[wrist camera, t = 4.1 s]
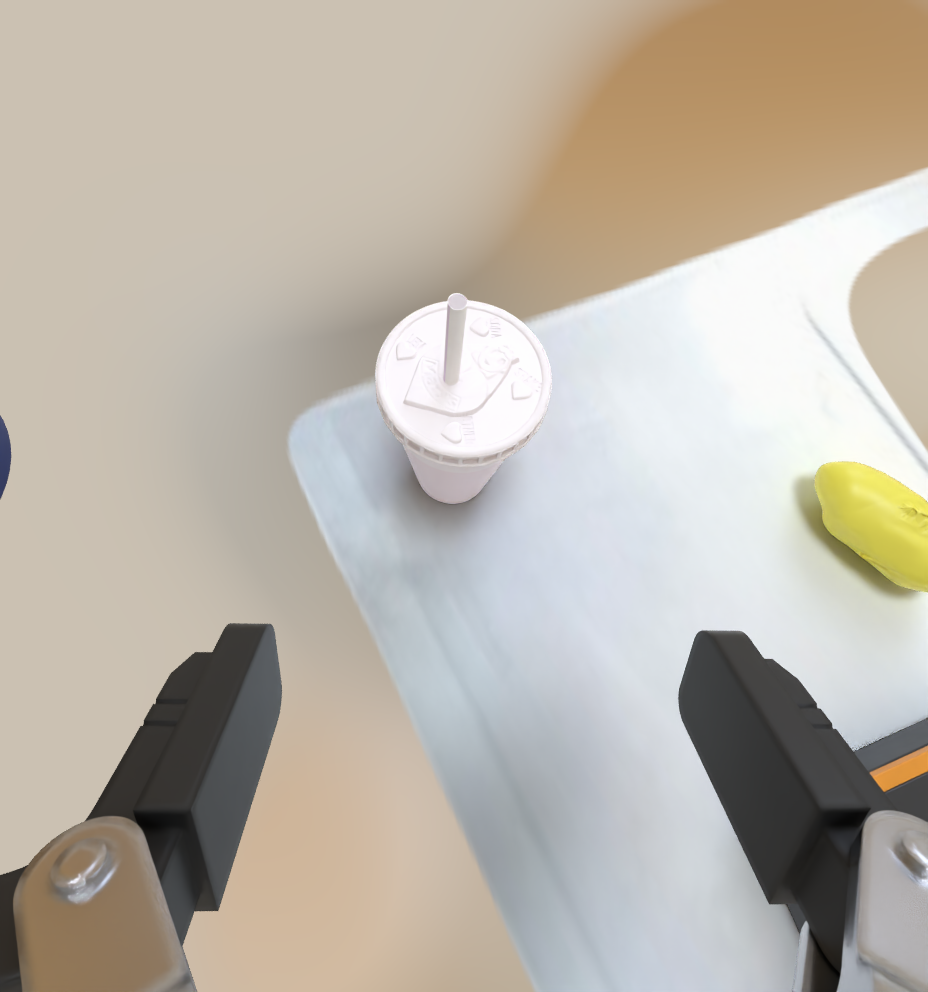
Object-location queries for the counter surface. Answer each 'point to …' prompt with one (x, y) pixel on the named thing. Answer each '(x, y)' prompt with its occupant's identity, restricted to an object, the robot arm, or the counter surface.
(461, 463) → the smoothie
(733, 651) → the robot arm
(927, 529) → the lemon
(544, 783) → the counter surface
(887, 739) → the scale
